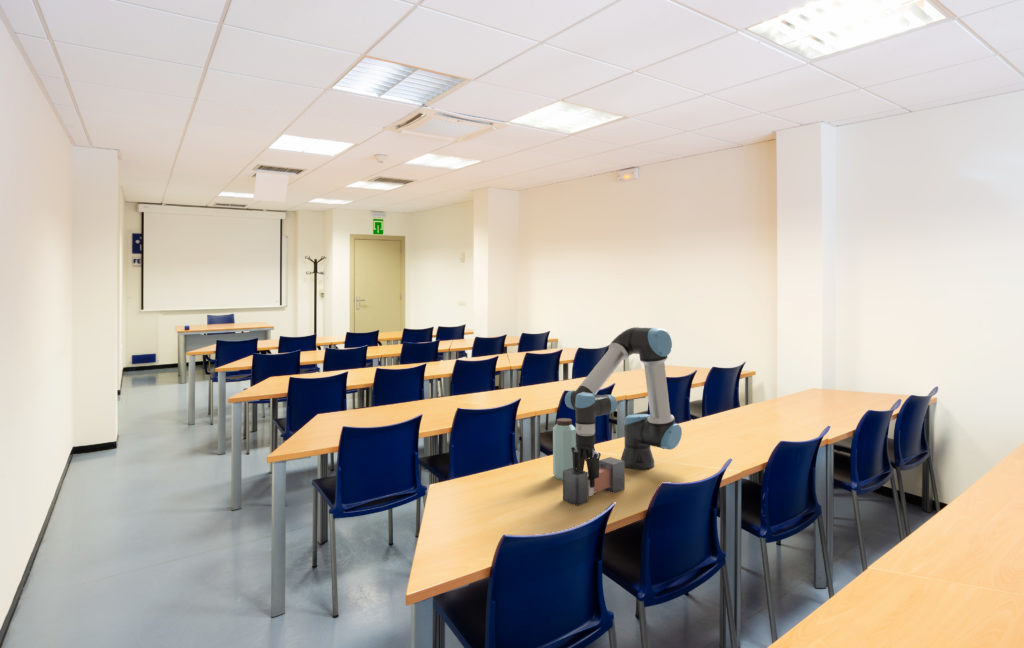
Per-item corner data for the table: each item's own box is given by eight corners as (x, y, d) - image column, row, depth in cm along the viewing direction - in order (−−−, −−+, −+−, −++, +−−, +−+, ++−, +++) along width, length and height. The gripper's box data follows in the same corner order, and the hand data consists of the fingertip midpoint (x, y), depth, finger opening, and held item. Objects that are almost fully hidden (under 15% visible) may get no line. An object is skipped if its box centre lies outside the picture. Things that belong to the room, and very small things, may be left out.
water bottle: (575, 481, 230) (574, 422, 229) (551, 480, 232) (551, 421, 231) (577, 474, 240) (576, 417, 239) (554, 472, 242) (554, 417, 241)
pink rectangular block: (602, 484, 220) (602, 466, 220) (609, 487, 217) (609, 469, 217) (570, 494, 209) (570, 476, 208) (577, 497, 206) (577, 478, 205)
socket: (573, 496, 212) (573, 467, 212) (587, 502, 207) (587, 472, 206) (563, 500, 209) (562, 470, 208) (576, 505, 203) (576, 475, 202)
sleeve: (610, 484, 226) (610, 457, 225) (624, 489, 220) (624, 461, 219) (599, 488, 221) (598, 460, 221) (613, 493, 216) (612, 464, 215)
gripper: (562, 431, 215) (563, 489, 216) (595, 439, 201) (595, 502, 202) (576, 428, 219) (576, 485, 220) (608, 436, 206) (609, 497, 207)
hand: (585, 493), depth 211 cm, fingers closed on pink rectangular block, 4 cm apart
